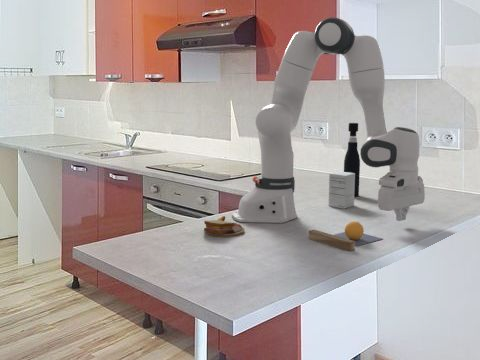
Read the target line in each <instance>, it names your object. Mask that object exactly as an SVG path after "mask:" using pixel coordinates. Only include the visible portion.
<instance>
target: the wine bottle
mask: <svg viewBox="0 0 480 360" xmlns="http://www.w3.org/2000/svg"><path fill="white" fill-rule="evenodd" d="M347 131H348V132H349V138H348V142H347V150H346V153H345V156H344V160H343V172H350V173H355V191H354V198H358V197H359V196H360V175H361V174H360V173H361V172H360V170H361V169H360V168H361V160H360V158H361V157H360V154H359V150H358V138H357V132H359V123H357V122H349V123H348V130H347Z"/></svg>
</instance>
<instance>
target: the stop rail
mask: <svg viewBox="0 0 480 360" xmlns="http://www.w3.org/2000/svg"><path fill="white" fill-rule="evenodd" d="M308 239H309V240H312V241H316V242H318V243H322V244H324V245H328V246H331V247H334V248H338V249H341V250H345V251H347V252H353V251H355V247H356V246H355V241H352V240H349V239H345V238H342V237H338V236H335V235H334V234H330V233H328V232H324V231H320V230H317V229H310V230H308Z"/></svg>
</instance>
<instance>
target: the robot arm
mask: <svg viewBox="0 0 480 360" xmlns="http://www.w3.org/2000/svg"><path fill="white" fill-rule="evenodd" d="M322 55H341V56H343V57H344V58H345V62H346V66H347V73H348V74H347V75H348V78H349V80H348V81H349V84H350V88H351V90H352V94H353V96H354V97H355V98H356V100H357V101H358V102H359V104H360V106H361V107H362V110H363V115H364V122H365V128H366V139H365V142H364V143H363V144H362V146H361V147H360V151H359V152H360V154H359V156H360V158H361V160H362V162H363V163H364V165H366V166H368V167H370V168H381V167H388V166H389V172H387V173H385V174H384V175H383V176H381V177H380V178H379V179H378V184H379V186H380V187H379V188H378V196H377V197H378V198H377V205H378V206H377V207H378V209H379V210H381V211H394V213H395V214H394V215H396V216H395V220H396V221H397V222H401V221H405V220H406V219H407V216H408V213H409V211H410V207H413V206H417V205H421V204H423V203H424V202H425V198H426V197H425V195H426V193H425V192H426V191H425V185H424V184H425V183H424V180H423V178H422V176H420V175H419V166H418V165H419V164H418V161H419V157H420V136H419V133H417V131H415V130H414V129H412V128H408V127H401V126H396V127H394V128H393V129H391V130H389V131H388V132H387V127H386V121H385V115H384V114H385V113H384V107H383V106H384V95H385V94H384V93H385V82H386V80H385V68H384V62H383V57H382V53H381V49H380V46H379V43H378V40H377V39H376V38H375V37H374V36H372V35H364V34H363V35H355V32H354V30H353V27H352V26H350V24H349V23H348V22H347V21H345V20H343V19H342V18H339V17H334V16H332V17H331V16H330V17H327V18H325V19H323V20H321V21H320V22H319V24H318V25H317V26H316V28H315V32H311V31H309V30H308V31H307V30H300V31H297V32H295V33H294V34H293V36H292V37H291V39H290V41H289V43H288V45H287V47H286V49H285V51H284V54H283V56H282V59H281V60H280V61H281V62H280V65H279V67H278V71H277V72H276V76H275V79H274V82H273V91H272V96H271V100H270V104H269V105H266V106H264V107H263V108H261V109H260V110H259V111H258V114H257V116H256V118H255V126H256V129H257V134H258V141H259V146H260V147H259V148H260V156H261V157H260V160H261V161H260V164H261V165H260V167H261V168H260V176H257V175H254V176H253V177H252V181H253V183H255V184H254V186H255V187H253V188H252V189H251V190H250V191H249V192H247V193H246V194H245V195H243V196H242V197H241V199H240V200H239V204H238V209H237V210H234V211H232V213H231V214H232V216H231V217H232V218H233V219H234V220H235V221H237V222H240V223H271V224H272V223H273V224H274V223H276V224H278V223H280V224H283V223H286V222H288V221H291V220H295V219H296V218H298V215H297V211H296V206H295V205H296V204H295V199H294V198H295V197H294V192H295V187H296V185H295V183H296V182H295V177H294V158H295V157H294V151H293V146H292V145H293V144H292V137H291V136H292V135H291V133H292V132H293V131H294V130H295V129H296V127H297V125H298V123H299V119H300V116H301V112H302V109H303V108H302V107H303V104H304V100H305V95H306V94H307V93H306V92H307V89H308V87H309V84H310V82H311V78H312V76H313V74H314V71H315V68H316V65H317V63H318V61H319V58H320V57H322Z"/></svg>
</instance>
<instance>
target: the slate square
mask: <svg viewBox="0 0 480 360" xmlns="http://www.w3.org/2000/svg"><path fill="white" fill-rule="evenodd" d="M333 235H335V236H338V237H342V238H345V239H349V238H348V237H347V236H346V234H345V231H343V232H339V233H335V234H333ZM349 240H351V239H349ZM381 240H383V238H381V237H378V236H375V235H371V234H368V233H367V234H366V233H363V235H362V237H361V238H360V239H358V240H352V241H355V247H359V246H363V245H367V244H370V243H374V242H377V241H378V242H379V241H381Z"/></svg>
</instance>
